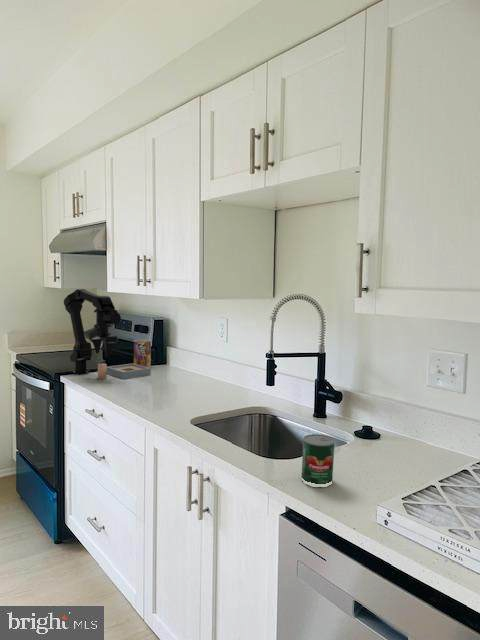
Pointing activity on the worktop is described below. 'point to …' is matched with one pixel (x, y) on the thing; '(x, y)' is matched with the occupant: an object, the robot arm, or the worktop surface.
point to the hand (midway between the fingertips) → (102, 354)
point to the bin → (128, 371)
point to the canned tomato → (318, 458)
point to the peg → (102, 371)
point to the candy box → (142, 353)
